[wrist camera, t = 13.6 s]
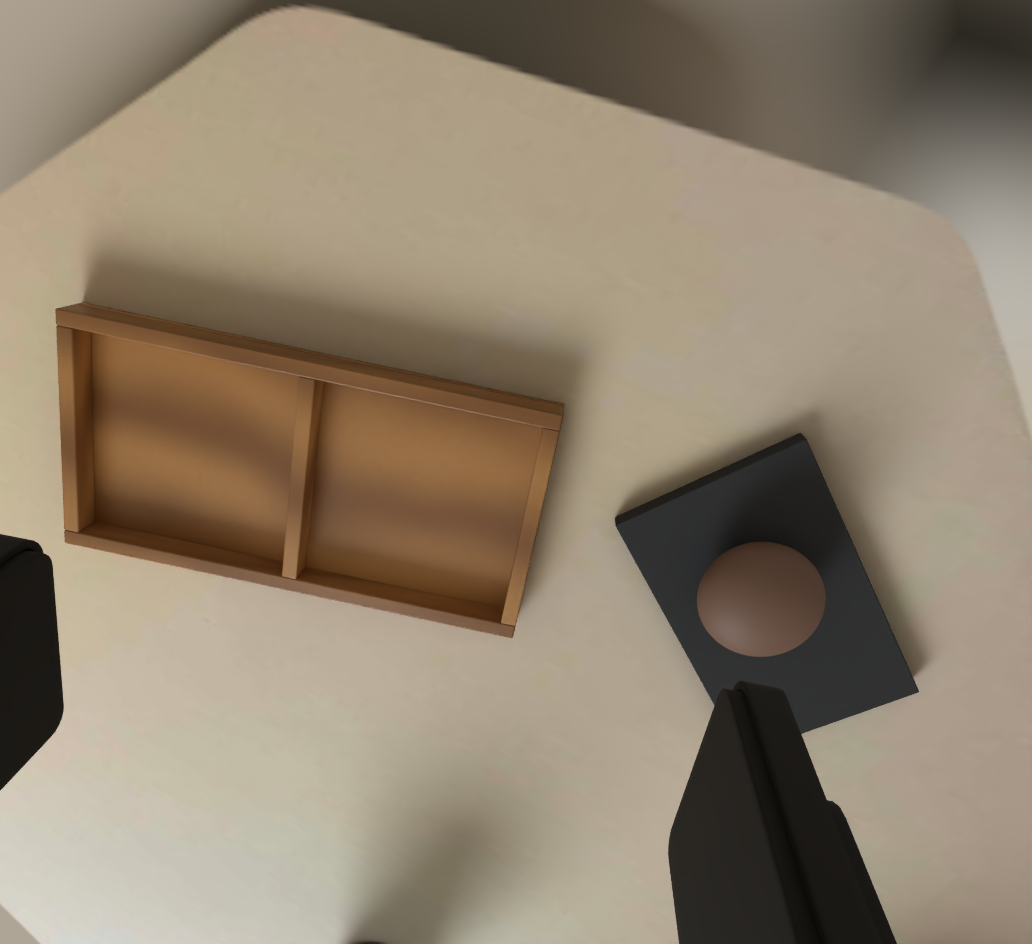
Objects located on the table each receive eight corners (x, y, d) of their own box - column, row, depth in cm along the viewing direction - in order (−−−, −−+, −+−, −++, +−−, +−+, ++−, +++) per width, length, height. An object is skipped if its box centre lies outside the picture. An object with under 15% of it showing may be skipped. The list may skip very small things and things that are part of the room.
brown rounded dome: (707, 640, 39) (720, 688, 36) (678, 544, 37) (689, 583, 34) (822, 613, 38) (848, 660, 34) (799, 512, 36) (824, 550, 33)
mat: (614, 517, 38) (615, 525, 37) (800, 432, 36) (806, 438, 35) (738, 742, 43) (741, 755, 42) (911, 680, 40) (919, 692, 39)
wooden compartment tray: (81, 302, 37) (54, 308, 35) (564, 403, 36) (563, 415, 35) (87, 527, 41) (64, 543, 39) (515, 618, 41) (512, 639, 39)
